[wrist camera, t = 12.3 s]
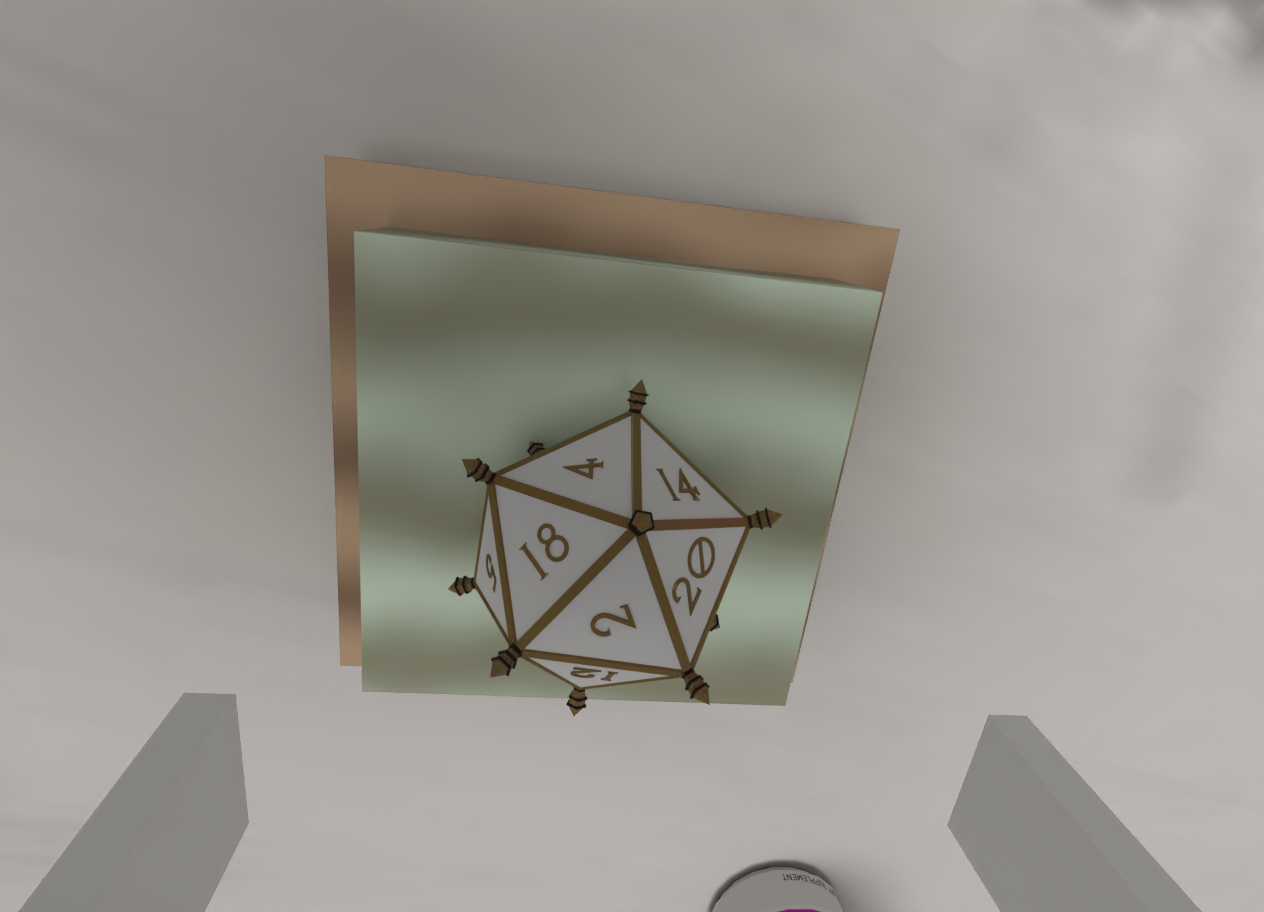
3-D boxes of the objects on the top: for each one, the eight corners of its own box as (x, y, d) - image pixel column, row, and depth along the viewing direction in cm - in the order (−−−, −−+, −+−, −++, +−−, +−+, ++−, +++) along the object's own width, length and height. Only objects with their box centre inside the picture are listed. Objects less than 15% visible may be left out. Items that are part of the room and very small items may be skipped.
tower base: (359, 162, 26) (275, 145, 18) (856, 226, 28) (959, 233, 21) (366, 612, 33) (307, 733, 25) (768, 631, 35) (822, 747, 28)
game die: (584, 410, 26) (642, 264, 16) (748, 569, 25) (904, 513, 16) (397, 581, 23) (336, 524, 13) (580, 766, 22) (651, 843, 13)
